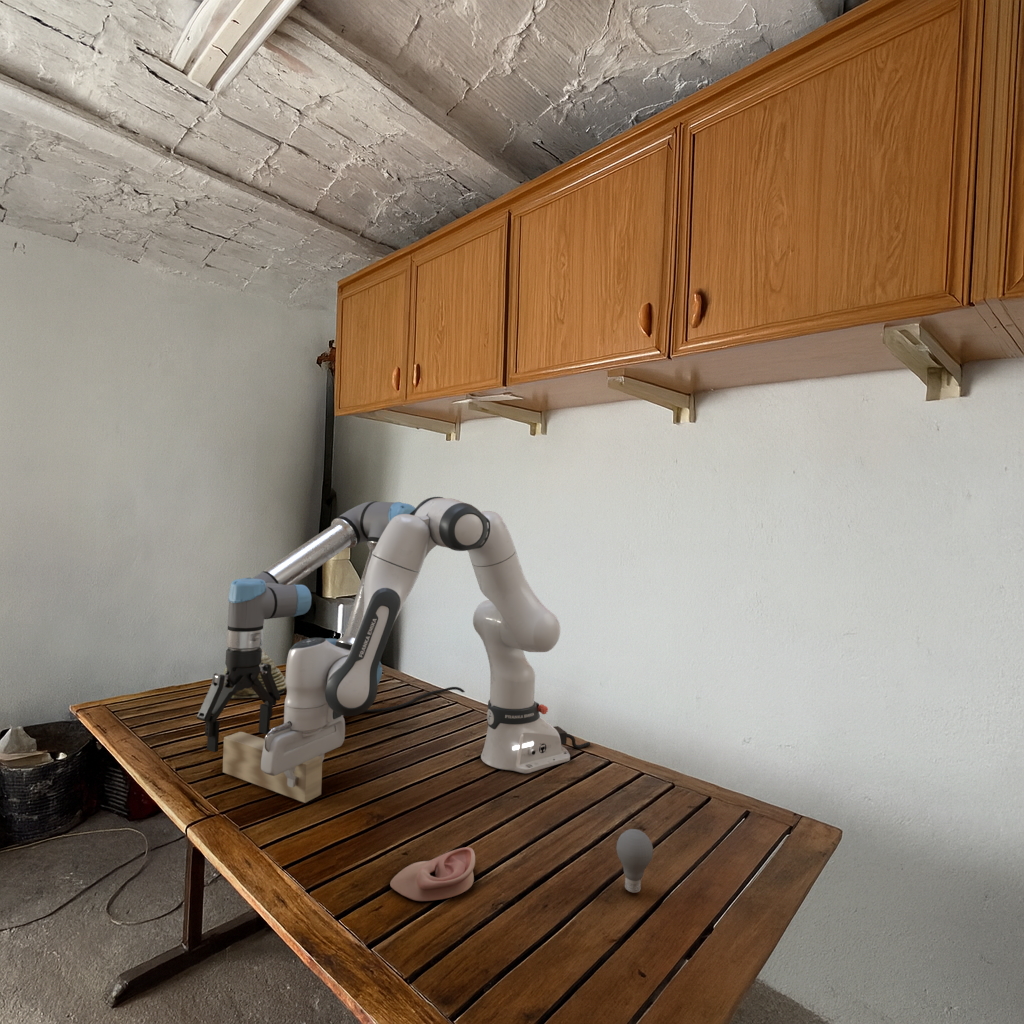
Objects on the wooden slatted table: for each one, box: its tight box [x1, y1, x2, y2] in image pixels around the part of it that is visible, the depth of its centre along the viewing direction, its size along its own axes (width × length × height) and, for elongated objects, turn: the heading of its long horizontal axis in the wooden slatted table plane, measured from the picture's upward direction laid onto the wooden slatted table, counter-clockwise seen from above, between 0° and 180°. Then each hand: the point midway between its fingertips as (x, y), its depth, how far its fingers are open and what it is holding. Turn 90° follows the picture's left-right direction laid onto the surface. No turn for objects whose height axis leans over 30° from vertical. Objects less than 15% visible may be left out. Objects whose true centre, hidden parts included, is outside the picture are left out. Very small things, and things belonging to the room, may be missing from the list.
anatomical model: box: [389, 846, 476, 902], centre depth 106 cm, size 13×4×12 cm
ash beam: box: [222, 731, 323, 804], centre depth 139 cm, size 26×4×8 cm, turn 61°
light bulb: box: [615, 828, 654, 894], centre depth 106 cm, size 6×6×10 cm
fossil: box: [223, 648, 287, 699], centre depth 198 cm, size 9×18×15 cm, turn 132°
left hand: (239, 741), depth 143 cm, fingers open, 13 cm apart
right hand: (303, 780), depth 134 cm, fingers closed on ash beam, 4 cm apart
